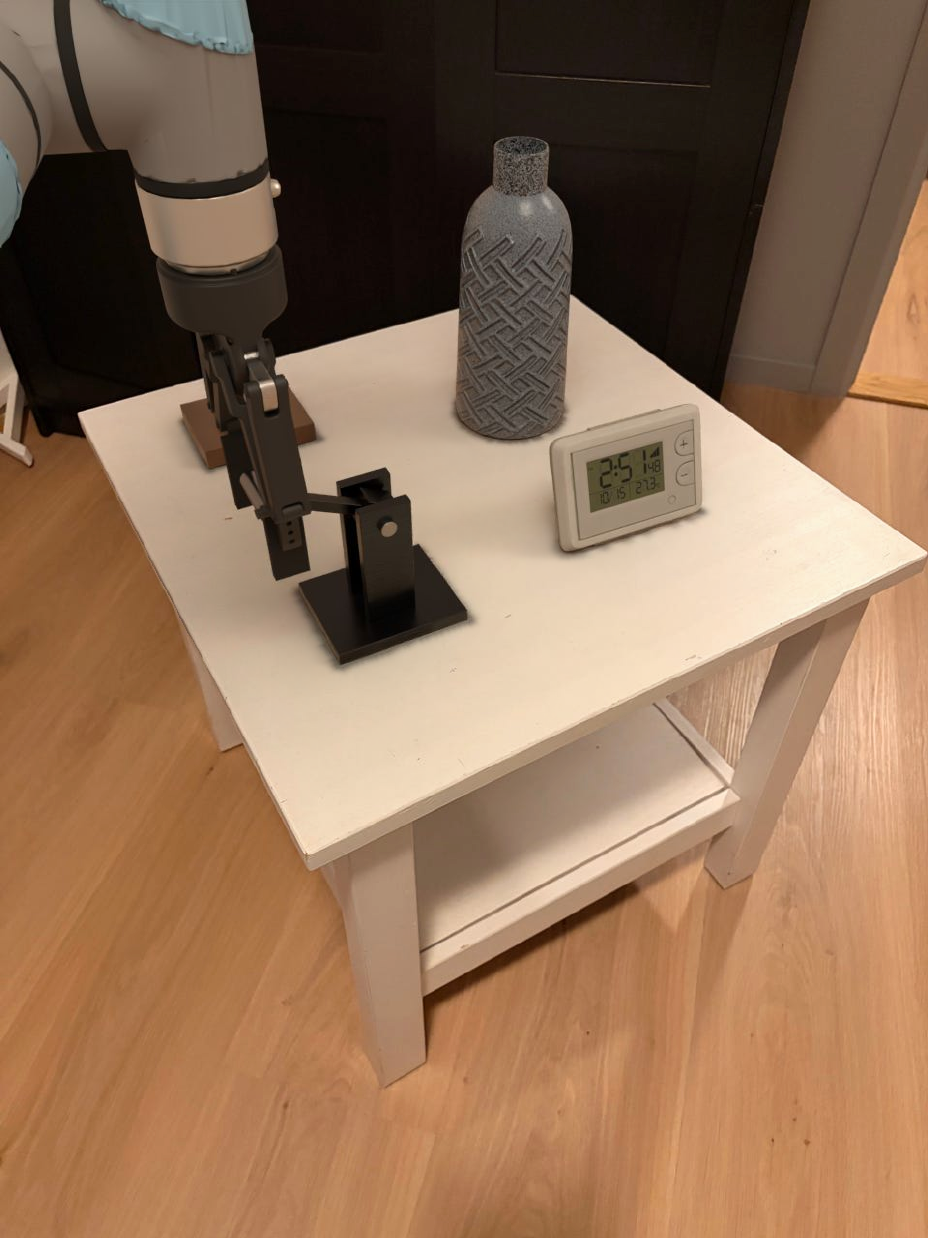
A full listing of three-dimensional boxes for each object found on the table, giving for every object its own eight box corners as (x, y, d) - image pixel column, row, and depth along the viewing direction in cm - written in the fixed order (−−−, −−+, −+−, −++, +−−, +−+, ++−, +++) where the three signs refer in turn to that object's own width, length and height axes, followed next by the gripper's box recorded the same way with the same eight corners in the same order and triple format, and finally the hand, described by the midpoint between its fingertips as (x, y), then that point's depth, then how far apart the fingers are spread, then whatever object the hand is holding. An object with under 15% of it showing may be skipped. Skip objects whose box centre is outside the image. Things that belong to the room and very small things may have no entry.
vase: (581, 428, 103) (611, 159, 82) (480, 451, 99) (486, 177, 79) (535, 374, 110) (552, 117, 90) (440, 394, 107) (436, 132, 87)
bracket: (340, 665, 78) (324, 549, 68) (299, 592, 84) (280, 477, 75) (467, 619, 81) (468, 504, 72) (419, 552, 88) (414, 439, 79)
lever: (256, 528, 67) (265, 500, 66) (235, 490, 71) (244, 463, 69) (396, 539, 75) (407, 515, 74) (371, 505, 78) (381, 481, 77)
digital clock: (555, 560, 87) (565, 468, 79) (529, 502, 93) (535, 411, 86) (715, 535, 90) (739, 443, 82) (679, 480, 96) (698, 390, 88)
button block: (208, 469, 97) (201, 437, 94) (183, 421, 103) (175, 389, 100) (316, 439, 101) (312, 407, 98) (286, 395, 107) (281, 364, 104)
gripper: (342, 311, 50) (370, 607, 66) (225, 178, 64) (272, 451, 80) (206, 341, 48) (269, 641, 64) (115, 197, 61) (186, 474, 77)
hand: (271, 536), depth 72 cm, fingers open, 9 cm apart
